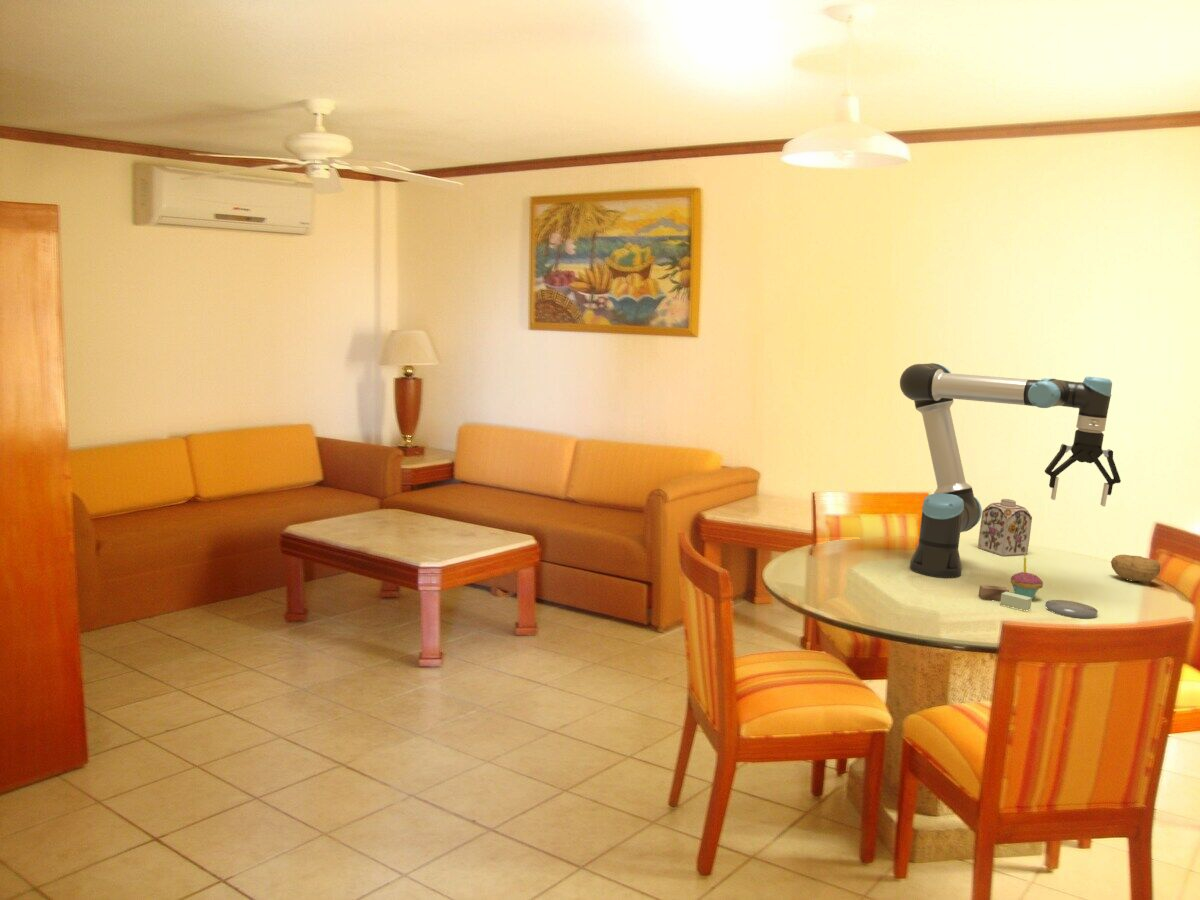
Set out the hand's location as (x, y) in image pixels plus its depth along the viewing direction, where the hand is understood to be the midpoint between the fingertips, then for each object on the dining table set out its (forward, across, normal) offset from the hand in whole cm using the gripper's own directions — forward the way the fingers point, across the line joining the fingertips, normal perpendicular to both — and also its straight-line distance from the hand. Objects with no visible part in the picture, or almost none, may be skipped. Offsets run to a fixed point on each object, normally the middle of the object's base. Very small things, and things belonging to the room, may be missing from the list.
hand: (1077, 502), depth 299 cm
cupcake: (+27, -13, -16) cm, 34 cm away
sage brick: (+27, -17, -29) cm, 43 cm away
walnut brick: (+27, -22, -23) cm, 42 cm away
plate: (+26, -2, -25) cm, 36 cm away
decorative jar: (+27, -12, +43) cm, 53 cm away
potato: (+26, +24, +22) cm, 42 cm away
